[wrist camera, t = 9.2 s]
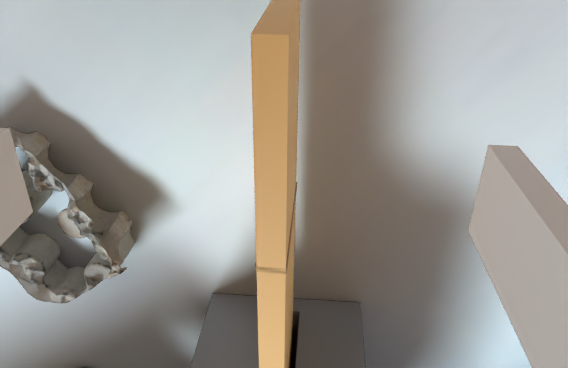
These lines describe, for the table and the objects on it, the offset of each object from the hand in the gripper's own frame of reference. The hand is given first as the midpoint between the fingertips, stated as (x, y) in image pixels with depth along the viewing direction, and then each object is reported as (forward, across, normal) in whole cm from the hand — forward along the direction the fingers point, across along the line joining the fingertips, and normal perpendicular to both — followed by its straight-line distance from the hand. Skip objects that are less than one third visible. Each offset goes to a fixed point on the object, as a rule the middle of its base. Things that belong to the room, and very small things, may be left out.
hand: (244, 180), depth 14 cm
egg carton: (+14, -14, -10) cm, 22 cm away
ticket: (+11, 0, -8) cm, 13 cm away
